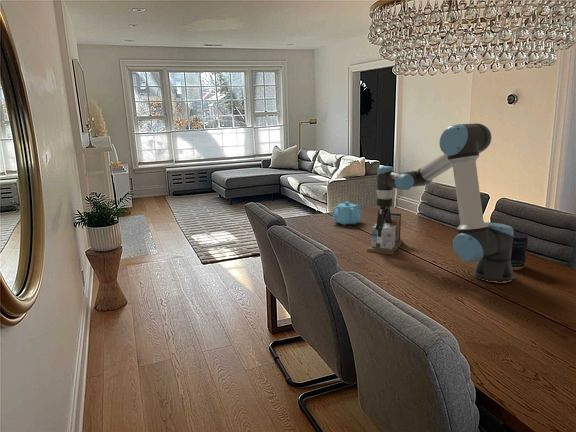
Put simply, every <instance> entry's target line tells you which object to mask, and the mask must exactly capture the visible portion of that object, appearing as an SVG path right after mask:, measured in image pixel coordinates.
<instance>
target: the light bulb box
mask: <svg viewBox="0 0 576 432" xmlns="http://www.w3.org/2000/svg"><path fill="white" fill-rule="evenodd" d="M376 225H377V223H375V224H374V225H372V226H371V244H370V245H371V247H377V248H384V249H392V248H393V247H394V246H395V231H396V226H393V225H383V229H382V230H383V243H377V230H375V228H376ZM379 228H380V227H379Z"/></svg>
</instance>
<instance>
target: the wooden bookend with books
mask: <svg viewBox="0 0 576 432" xmlns="http://www.w3.org/2000/svg"><path fill="white" fill-rule="evenodd" d="M390 213H391V221H392V223H390V225H393V226H396V231H395V246H394V247H393V248H392V249H384V248H377V247H371V244H370V245H369V246H368V247H367V248H366V252H370V253H379V254H385V255H392V256H393V255H394V254H395V252H396V251H398V249H399V248H400V246H401V245H402V244H403V242H404V239H402V238H401V231H402V230H401V228H402V227H401V226H402V224H401V223H402V213H396V212H390ZM384 223H385V220H384ZM383 225H384V224H383Z"/></svg>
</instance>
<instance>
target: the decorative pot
mask: <svg viewBox="0 0 576 432" xmlns="http://www.w3.org/2000/svg"><path fill="white" fill-rule="evenodd" d="M361 210H362V207H361V205H360V204H354V203H351V202H350V201H344V203H343V202H342V203H341V202H340V203H338V204H337V206H334V207H333V209H332V213H333V216H332V217H331V219H332V221H336V223H338V224H341V225H342V226H347V225H356V224H358V223H359V222H360V219H361V217H362V214H361Z"/></svg>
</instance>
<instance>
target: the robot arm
mask: <svg viewBox="0 0 576 432" xmlns="http://www.w3.org/2000/svg"><path fill="white" fill-rule="evenodd" d="M491 143H492V133H491V131H490V129H489V128H488V127H487V126H486V125H484V124H482V123H458V124H453V125H450V126H447V127H446V128H445V129H444V130H443V132H442V133H441V134H440V137H439V144H438V145H439V149H440V151H441V152H442V153H440V154H439V155H438V156H436V157H435V158H433V159H431V161H429V162H428V163H426V164H424V165H423V166H422V167H420V168H419V169H417V170H412V171H405V172H397V171H395V170H394V167H393V166H391V165H390V166H389V165H381V166H378V168H377V175H376V177H377V180H376V191H375V192H376V206H377V207H379V209H378V210H377V217H376V218H377V219H376V224H377V225H376V228H375V230H377V243H383V230H382V229H383V224H384V225H390V223H392V221H391V213H392V212H391V207H392V206H393V197H394V195H393V193H394V189H398V190H401V191H409V190H410V189H411V188H415V187H423V186H424V187H425V186H428V185H430V184H431V183H432V181H433V179H435V178H437V177H438V176H440V175H442V174H443V173H445V172H447V171H448V170H450V169H452V171H453V178H454V185H455V192H456V200H457V209H458V216H459V225H458V227H457V228H456V230H457V231H456V232H457V235H455V237H454V238H453V240H452V247H453V248H452V249H453V251H454V253H455V254H456V256H457V257H459V258H460V260H462V261H463V262H468V263H470V262H471V263H472V262H477V263H476V266H475V267H474V271H473V275H475V276H476V277H478V278H480V279H484V280H488V281H497V282H503V281H509V280H512V279H513V280H514V278H515V275H514V270H513V269H512V265H511V253H512V244H513V237H514V235H513V233H514V232H515V231H514V228H513V227H512V226H510V225H507V224H504V223H499V222H485V221H484V215H483V213H484V212H483V208H482V207H483V206H482V199H481V191H480V183H479V176H478V170H477V169H478V167H477V160H478V159H479V157H480V154H481V153H482V152H484V151H485V150H487V149H488V148H489V146H490V144H491ZM384 220H385V223H384ZM379 227H380V228H379ZM475 276H474V277H475ZM476 277H475V278H476Z"/></svg>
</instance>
